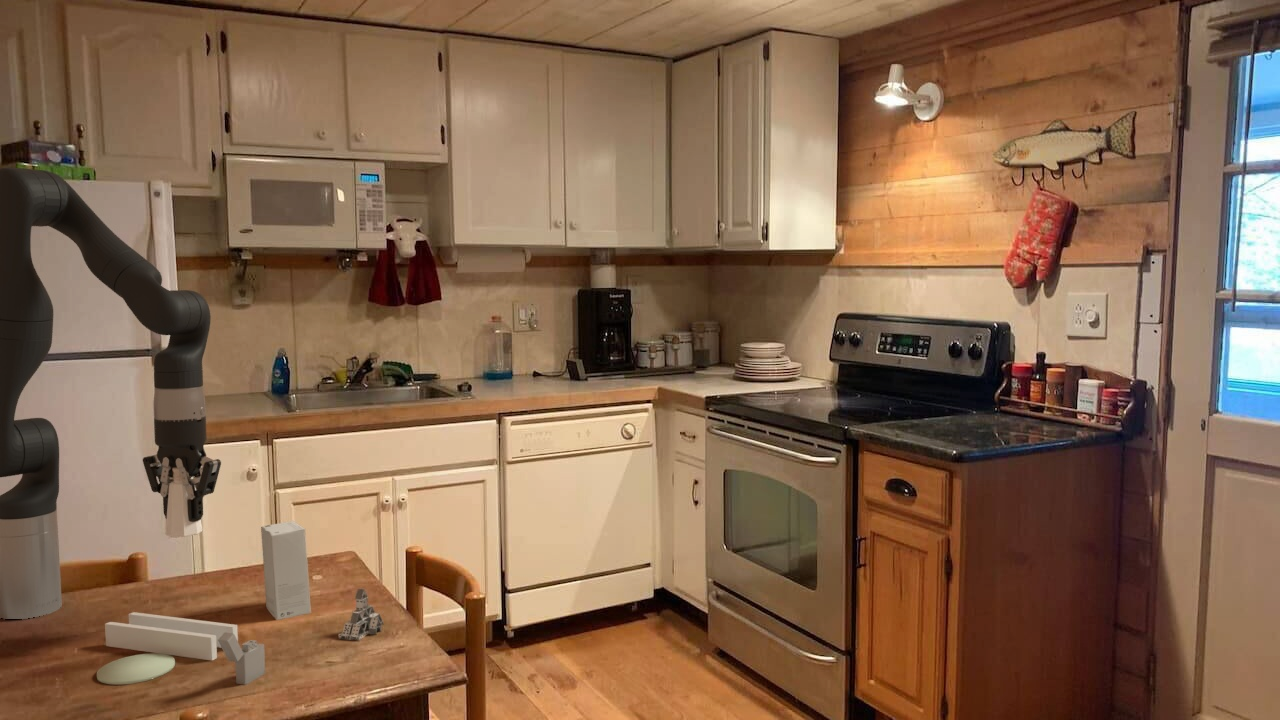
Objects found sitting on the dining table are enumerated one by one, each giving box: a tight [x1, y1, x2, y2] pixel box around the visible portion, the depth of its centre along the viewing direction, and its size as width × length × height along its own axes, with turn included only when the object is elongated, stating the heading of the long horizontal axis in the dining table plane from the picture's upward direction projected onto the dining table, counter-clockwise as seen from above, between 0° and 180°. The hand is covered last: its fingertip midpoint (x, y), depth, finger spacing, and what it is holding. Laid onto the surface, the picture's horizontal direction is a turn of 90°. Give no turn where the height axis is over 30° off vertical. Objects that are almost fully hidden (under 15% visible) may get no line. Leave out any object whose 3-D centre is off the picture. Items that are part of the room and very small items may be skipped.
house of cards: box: [338, 588, 384, 642], centre depth 149 cm, size 9×9×8 cm
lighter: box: [218, 632, 266, 685], centre depth 132 cm, size 7×2×8 cm, turn 161°
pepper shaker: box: [164, 468, 203, 538], centre depth 152 cm, size 5×5×11 cm
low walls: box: [104, 611, 239, 661], centre depth 145 cm, size 20×6×4 cm, turn 73°
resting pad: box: [96, 652, 176, 686], centre depth 136 cm, size 10×10×1 cm
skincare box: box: [260, 520, 312, 621], centre depth 160 cm, size 8×6×15 cm
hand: (183, 519), depth 153 cm, fingers closed on pepper shaker, 4 cm apart
